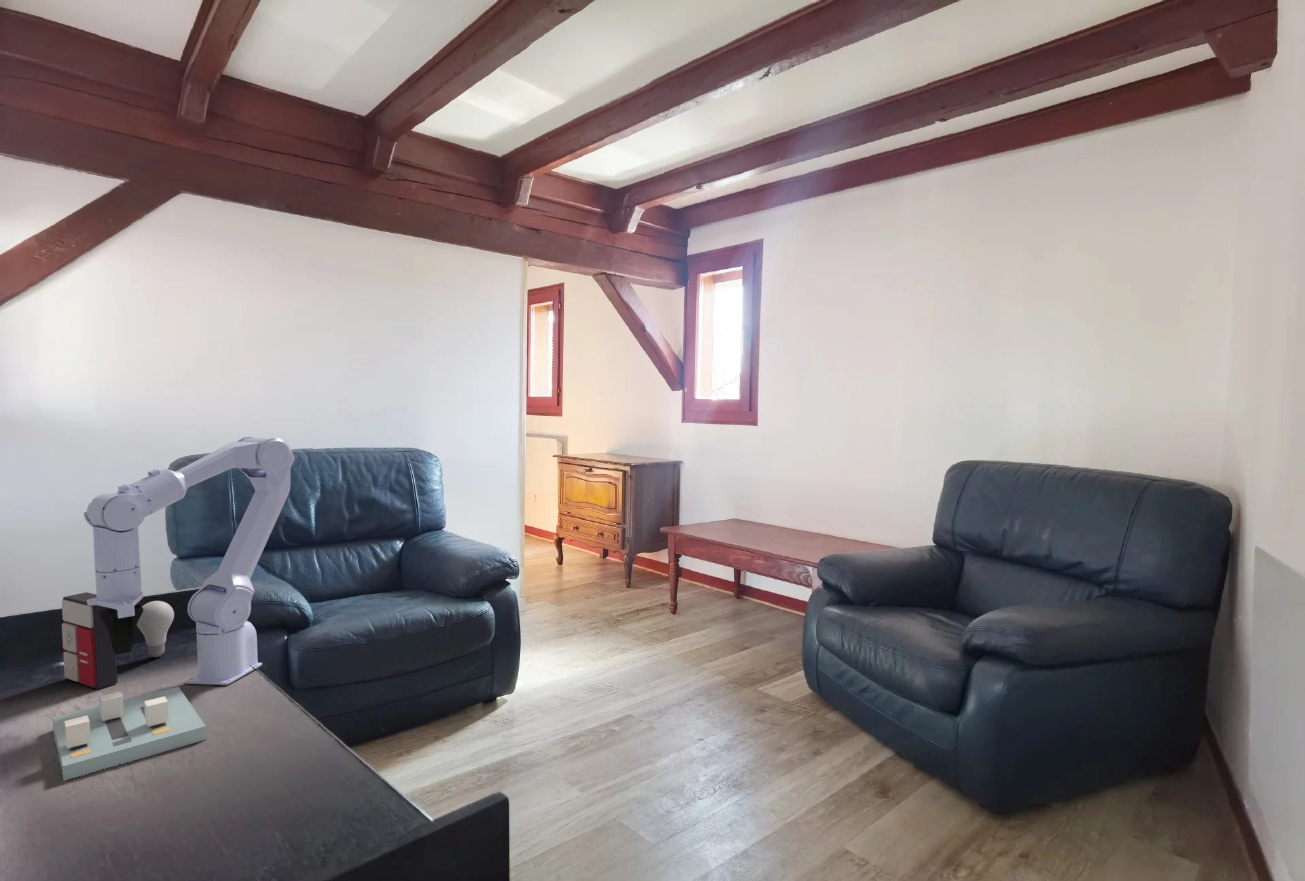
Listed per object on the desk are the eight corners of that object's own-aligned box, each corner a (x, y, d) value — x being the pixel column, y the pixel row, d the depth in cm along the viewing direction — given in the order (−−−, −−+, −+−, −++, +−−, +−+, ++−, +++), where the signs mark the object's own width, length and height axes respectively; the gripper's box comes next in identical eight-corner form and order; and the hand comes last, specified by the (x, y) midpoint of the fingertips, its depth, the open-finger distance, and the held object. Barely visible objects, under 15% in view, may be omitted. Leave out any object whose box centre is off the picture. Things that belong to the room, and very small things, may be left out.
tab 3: (145, 721, 102) (144, 701, 102) (165, 715, 104) (164, 696, 104) (148, 726, 101) (147, 706, 101) (168, 721, 102) (167, 701, 102)
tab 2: (100, 715, 104) (99, 696, 104) (121, 710, 106) (120, 691, 106) (102, 721, 103) (101, 701, 102) (123, 715, 104) (122, 696, 104)
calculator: (61, 680, 124) (57, 597, 124) (90, 671, 128) (85, 591, 127) (93, 691, 119) (88, 605, 118) (121, 682, 123) (117, 599, 122)
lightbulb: (146, 665, 131) (143, 607, 131) (131, 659, 135) (128, 603, 134) (181, 655, 136) (179, 599, 136) (167, 649, 140) (164, 595, 139)
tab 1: (65, 742, 96) (64, 721, 96) (88, 736, 98) (87, 715, 98) (67, 748, 94) (65, 727, 94) (90, 742, 96) (89, 721, 96)
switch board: (52, 730, 105) (52, 716, 105) (179, 698, 116) (178, 686, 116) (63, 781, 91) (62, 766, 91) (206, 739, 102) (205, 725, 102)
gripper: (81, 565, 113) (85, 647, 114) (90, 581, 103) (95, 671, 104) (134, 558, 118) (138, 636, 119) (149, 572, 108) (153, 658, 108)
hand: (122, 652), depth 112 cm, fingers closed
